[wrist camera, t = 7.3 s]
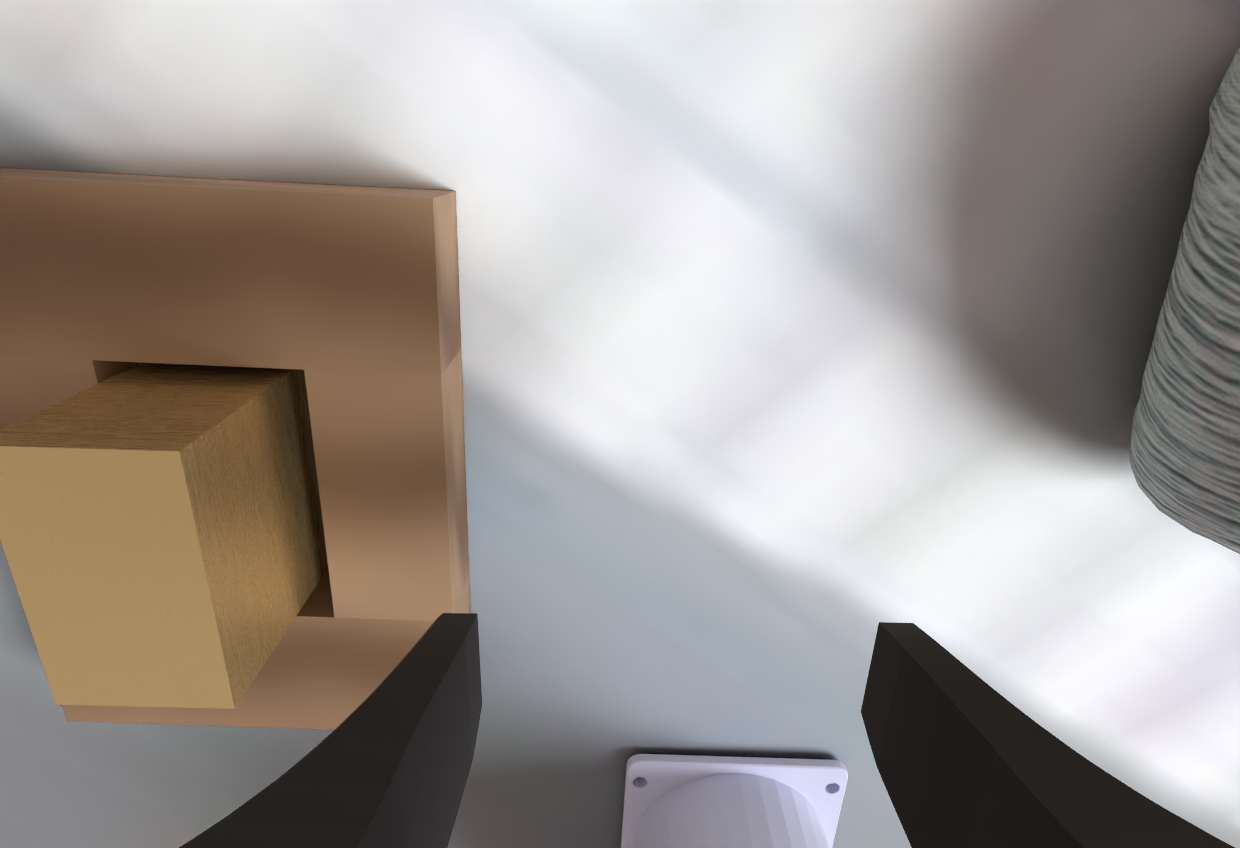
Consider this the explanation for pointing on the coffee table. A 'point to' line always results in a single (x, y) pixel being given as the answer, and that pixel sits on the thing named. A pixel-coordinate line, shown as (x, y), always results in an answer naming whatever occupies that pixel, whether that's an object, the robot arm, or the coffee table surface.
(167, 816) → the coffee table surface
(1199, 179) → the grey cylinder
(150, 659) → the key peg
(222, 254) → the slot board
